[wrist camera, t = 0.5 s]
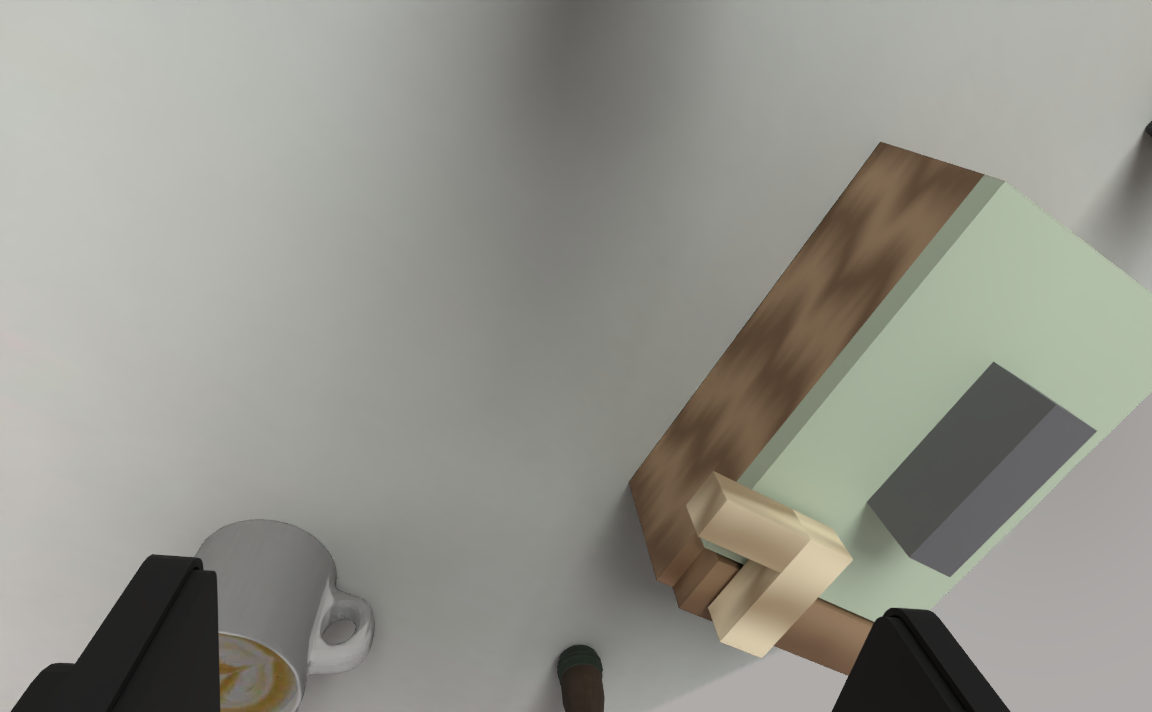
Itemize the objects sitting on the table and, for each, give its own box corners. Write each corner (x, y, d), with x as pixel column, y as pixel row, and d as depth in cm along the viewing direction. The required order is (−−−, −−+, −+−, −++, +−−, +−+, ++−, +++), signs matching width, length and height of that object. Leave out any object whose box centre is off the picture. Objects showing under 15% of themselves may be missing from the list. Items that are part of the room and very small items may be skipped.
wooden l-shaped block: (713, 470, 36) (727, 500, 34) (832, 528, 39) (853, 559, 37) (630, 575, 39) (638, 610, 37) (747, 623, 41) (761, 658, 39)
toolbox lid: (984, 174, 33) (1079, 204, 27) (1182, 324, 38) (1296, 375, 32) (697, 529, 41) (727, 607, 35) (892, 616, 45) (945, 697, 40)
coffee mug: (187, 609, 52) (121, 731, 43) (205, 506, 48) (137, 616, 39) (366, 640, 55) (340, 760, 46) (396, 545, 51) (374, 655, 42)
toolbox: (880, 141, 42) (1008, 181, 31) (1051, 266, 47) (1211, 337, 36) (628, 482, 51) (662, 601, 40) (793, 556, 56) (861, 681, 45)
